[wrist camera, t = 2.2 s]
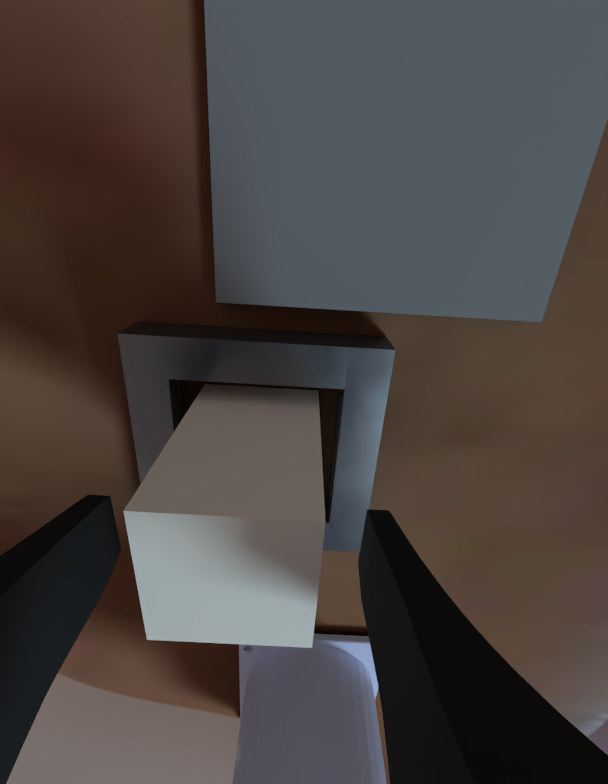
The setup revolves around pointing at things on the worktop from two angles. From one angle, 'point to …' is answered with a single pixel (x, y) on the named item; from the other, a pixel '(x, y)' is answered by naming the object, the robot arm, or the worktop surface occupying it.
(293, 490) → the square peg block
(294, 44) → the rubber mat
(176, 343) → the square socket
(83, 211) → the worktop surface
